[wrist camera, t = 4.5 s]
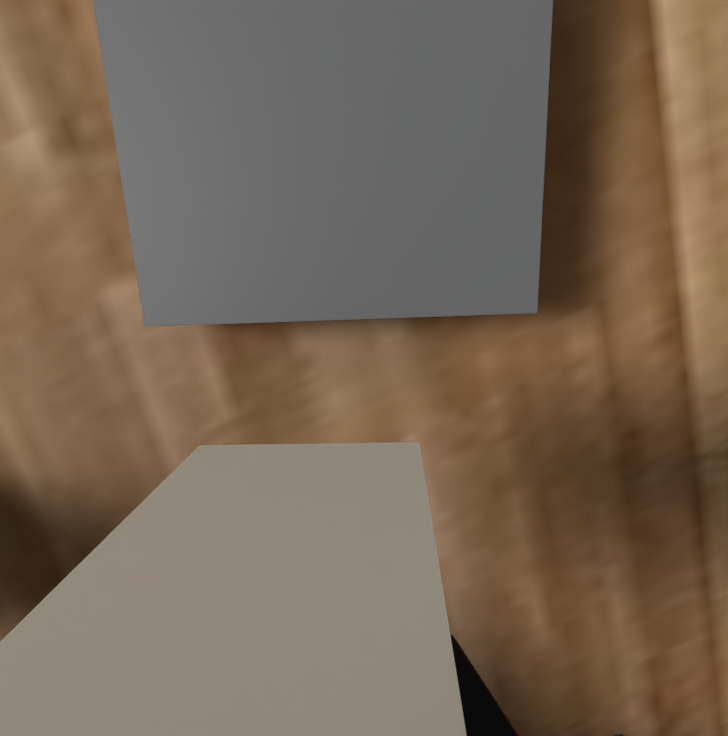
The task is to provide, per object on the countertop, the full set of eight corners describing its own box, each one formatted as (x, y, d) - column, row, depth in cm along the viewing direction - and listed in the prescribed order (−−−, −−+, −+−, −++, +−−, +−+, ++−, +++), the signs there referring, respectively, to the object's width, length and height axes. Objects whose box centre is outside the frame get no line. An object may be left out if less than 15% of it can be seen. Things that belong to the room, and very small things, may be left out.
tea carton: (421, 662, 11) (492, 1547, 4) (228, 659, 12) (-94, 1463, 4) (418, 441, 10) (527, 1115, 2) (199, 445, 10) (-405, 1039, 2)
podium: (513, 304, 18) (537, 313, 15) (181, 316, 19) (144, 326, 16) (526, -44, 15) (558, -114, 13) (136, -11, 16) (81, -70, 13)
